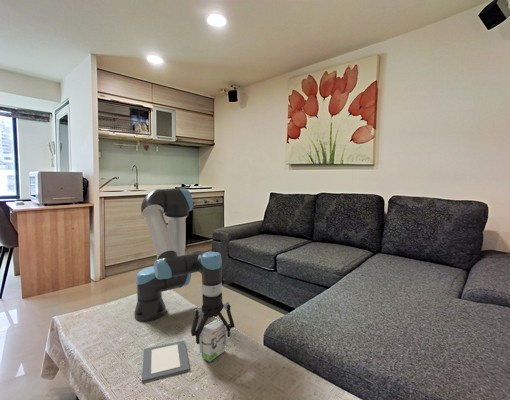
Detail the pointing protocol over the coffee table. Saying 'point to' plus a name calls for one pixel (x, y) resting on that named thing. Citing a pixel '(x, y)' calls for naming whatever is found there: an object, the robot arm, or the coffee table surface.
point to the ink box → (213, 340)
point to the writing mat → (164, 361)
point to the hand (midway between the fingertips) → (213, 347)
